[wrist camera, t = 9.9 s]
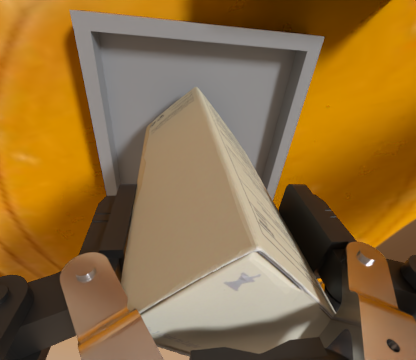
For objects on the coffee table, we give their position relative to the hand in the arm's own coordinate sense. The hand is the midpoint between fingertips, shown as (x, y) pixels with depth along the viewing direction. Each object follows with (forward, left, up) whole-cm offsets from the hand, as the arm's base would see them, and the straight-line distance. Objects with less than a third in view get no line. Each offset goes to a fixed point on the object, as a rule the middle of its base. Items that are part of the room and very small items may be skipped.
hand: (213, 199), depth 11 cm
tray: (0, 0, -8) cm, 8 cm away
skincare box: (0, 0, -7) cm, 7 cm away
